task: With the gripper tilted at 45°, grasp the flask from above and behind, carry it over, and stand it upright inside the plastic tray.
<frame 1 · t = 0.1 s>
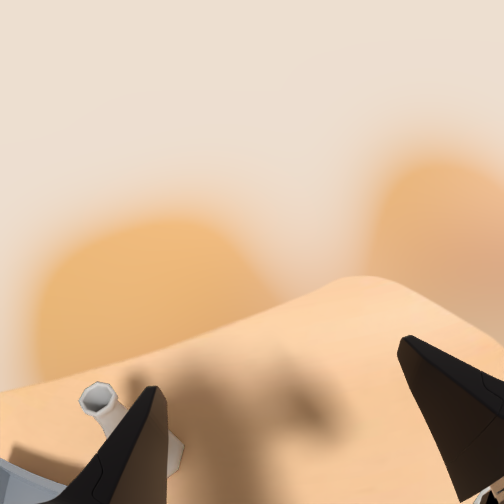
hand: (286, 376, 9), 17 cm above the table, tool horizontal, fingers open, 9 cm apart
flask: (150, 455, 20), on the table
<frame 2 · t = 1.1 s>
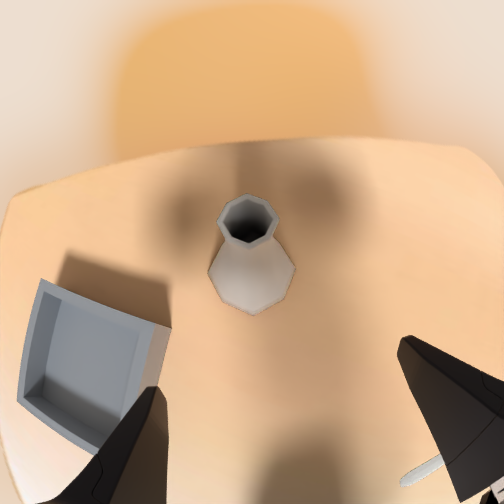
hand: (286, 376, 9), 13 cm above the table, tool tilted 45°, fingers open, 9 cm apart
tray: (94, 371, 21), on the table
butter knife: (488, 417, 18), on the table
flask: (251, 273, 24), on the table
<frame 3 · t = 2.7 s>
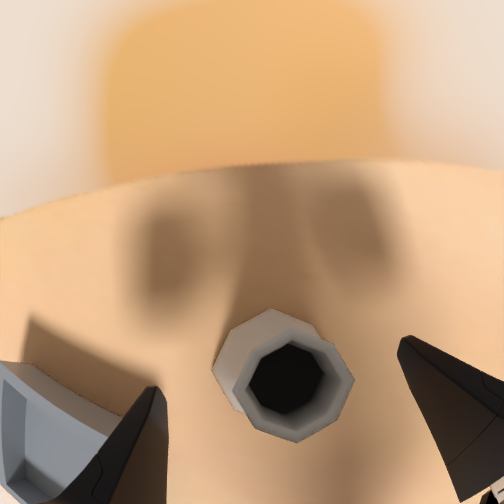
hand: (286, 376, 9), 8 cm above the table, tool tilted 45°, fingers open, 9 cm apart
tray: (78, 466, 13), on the table
flask: (273, 368, 16), on the table
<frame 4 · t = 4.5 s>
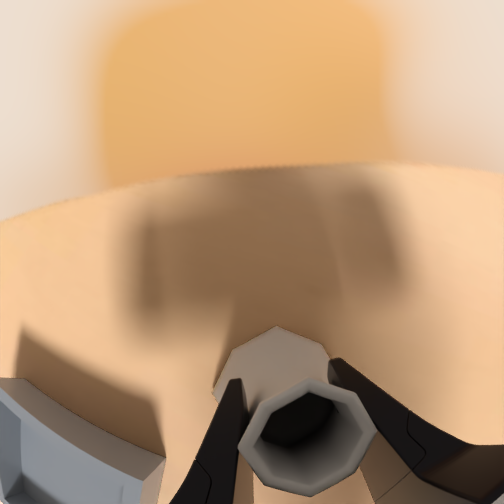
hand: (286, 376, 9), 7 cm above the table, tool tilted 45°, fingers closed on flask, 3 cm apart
tray: (76, 483, 11), on the table
flask: (278, 389, 15), on the table, touching gripper
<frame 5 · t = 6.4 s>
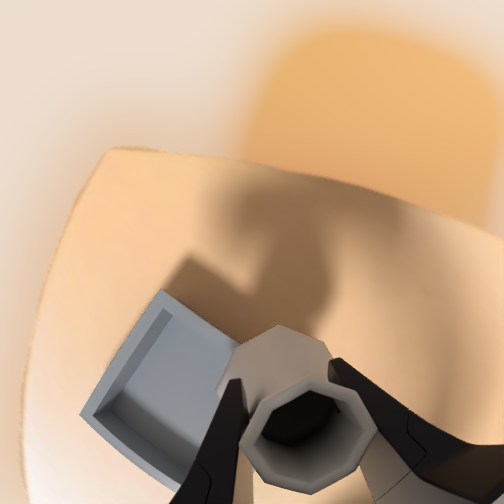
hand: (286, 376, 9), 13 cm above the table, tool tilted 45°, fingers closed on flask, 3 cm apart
tray: (195, 403, 20), on the table
flask: (281, 387, 15), point 6 cm above the table, touching gripper
when the fingers open (9 cm above the table, at t = 8.6 s): flask drops 1 cm, resting on tray.
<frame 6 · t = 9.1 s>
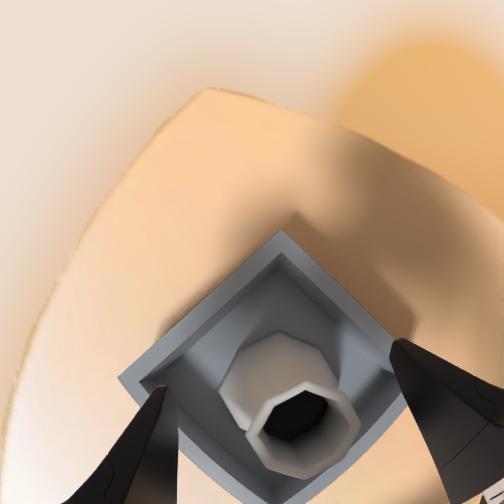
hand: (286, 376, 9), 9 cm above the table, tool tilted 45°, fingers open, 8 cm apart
tray: (275, 384, 17), on the table
flask: (278, 388, 16), point 1 cm above the table, touching tray
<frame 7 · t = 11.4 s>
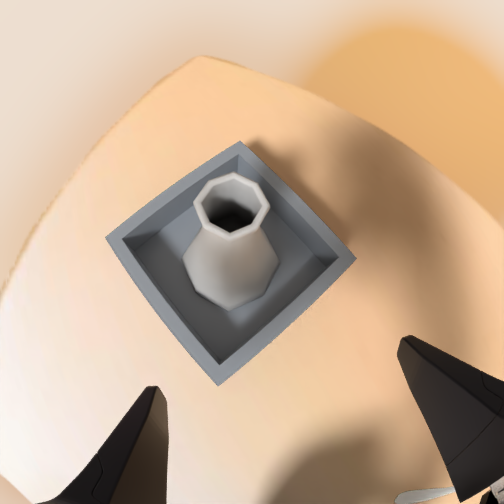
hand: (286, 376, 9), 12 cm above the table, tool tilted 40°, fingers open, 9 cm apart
tray: (229, 262, 22), on the table
butter knife: (463, 483, 16), on the table
flask: (230, 262, 22), point 1 cm above the table, touching tray
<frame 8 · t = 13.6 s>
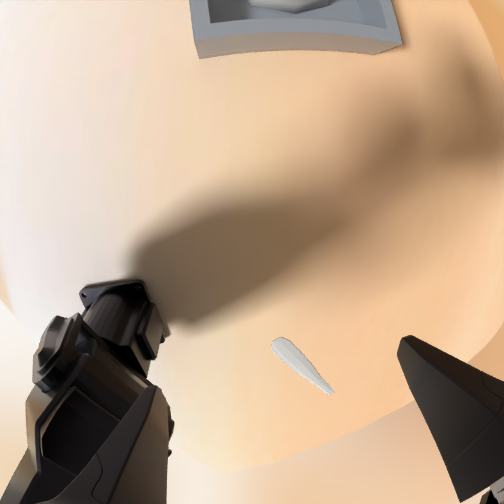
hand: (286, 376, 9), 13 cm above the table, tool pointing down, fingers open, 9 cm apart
butter knife: (333, 390, 31), on the table
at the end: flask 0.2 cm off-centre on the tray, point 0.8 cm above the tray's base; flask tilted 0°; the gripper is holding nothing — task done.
